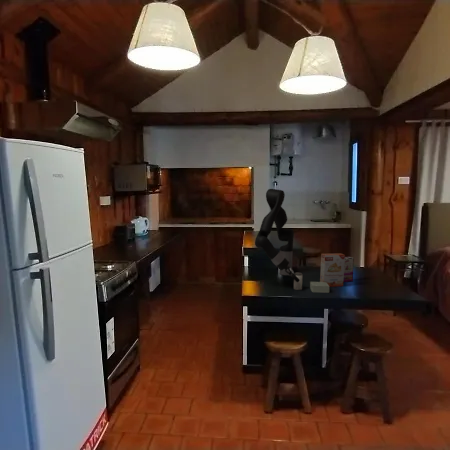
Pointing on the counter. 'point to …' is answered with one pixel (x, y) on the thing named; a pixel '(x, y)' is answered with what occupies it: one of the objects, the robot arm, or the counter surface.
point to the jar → (298, 284)
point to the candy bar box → (348, 269)
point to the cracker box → (332, 269)
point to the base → (319, 287)
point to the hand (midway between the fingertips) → (297, 279)
